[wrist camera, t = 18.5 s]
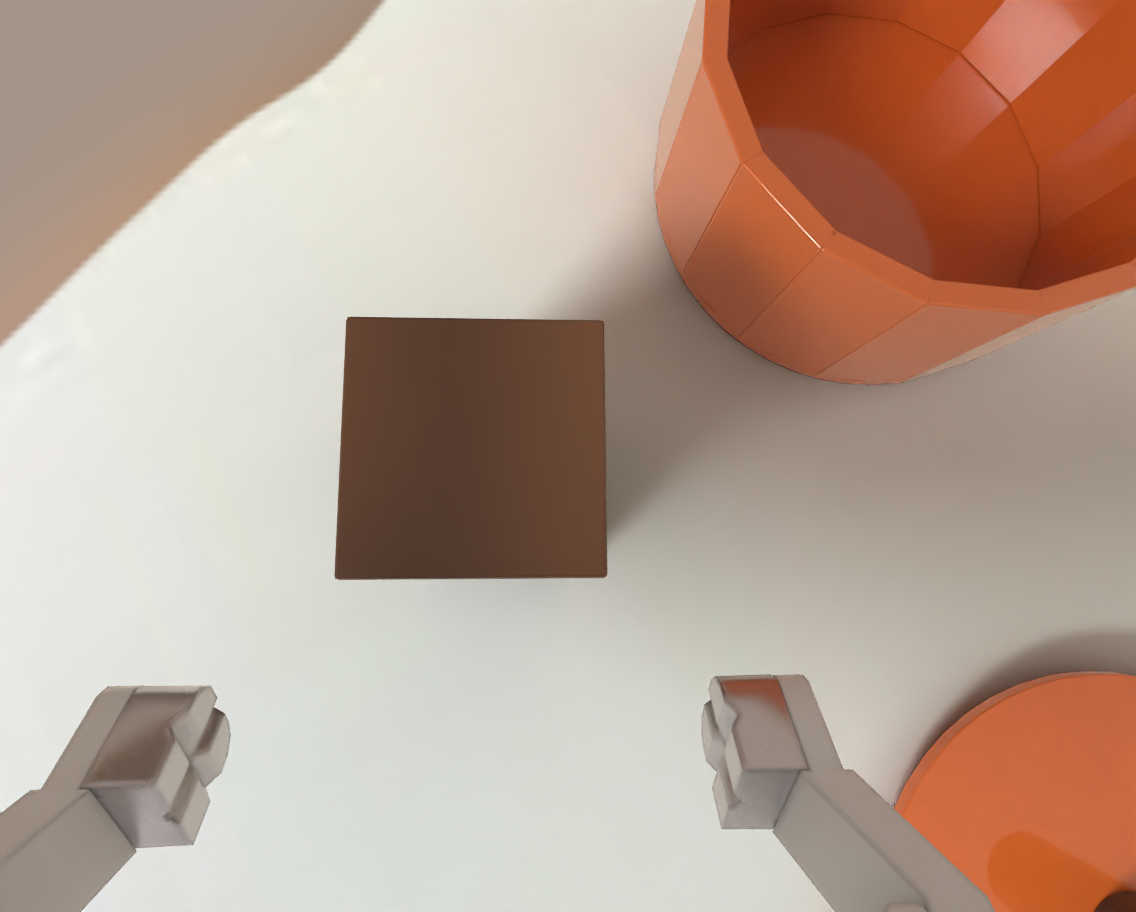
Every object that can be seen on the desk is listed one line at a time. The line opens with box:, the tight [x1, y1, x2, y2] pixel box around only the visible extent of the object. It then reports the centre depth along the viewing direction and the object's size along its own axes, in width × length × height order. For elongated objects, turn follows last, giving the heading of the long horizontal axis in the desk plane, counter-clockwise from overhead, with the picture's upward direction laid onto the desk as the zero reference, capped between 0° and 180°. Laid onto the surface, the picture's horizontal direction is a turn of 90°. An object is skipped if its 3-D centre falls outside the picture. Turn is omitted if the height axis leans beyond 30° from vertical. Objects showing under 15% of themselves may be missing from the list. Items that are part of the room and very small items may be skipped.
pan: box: [654, 0, 1136, 385], centre depth 19 cm, size 13×13×6 cm
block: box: [335, 317, 607, 580], centre depth 16 cm, size 5×5×8 cm
